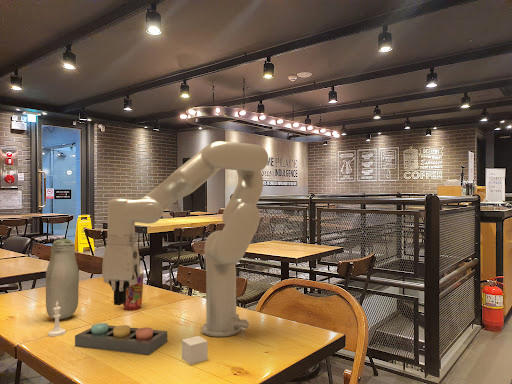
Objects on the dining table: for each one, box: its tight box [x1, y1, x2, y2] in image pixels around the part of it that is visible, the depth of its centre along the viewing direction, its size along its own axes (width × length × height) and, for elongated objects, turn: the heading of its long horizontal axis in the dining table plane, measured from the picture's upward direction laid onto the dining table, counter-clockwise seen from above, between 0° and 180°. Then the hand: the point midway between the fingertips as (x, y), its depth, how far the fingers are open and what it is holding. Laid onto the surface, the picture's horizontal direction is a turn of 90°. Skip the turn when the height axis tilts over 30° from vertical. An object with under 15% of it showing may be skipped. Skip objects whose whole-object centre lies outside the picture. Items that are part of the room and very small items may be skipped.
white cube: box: [181, 335, 209, 366], centre depth 99 cm, size 5×5×5 cm
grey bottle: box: [45, 238, 80, 321], centre depth 134 cm, size 10×10×28 cm
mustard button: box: [113, 324, 131, 338], centre depth 110 cm, size 5×5×3 cm
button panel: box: [74, 324, 168, 356], centre depth 110 cm, size 24×10×3 cm, turn 74°
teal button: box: [90, 322, 109, 336], centre depth 112 cm, size 5×5×3 cm
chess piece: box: [47, 301, 66, 337], centre depth 119 cm, size 5×5×10 cm
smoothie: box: [122, 266, 145, 311], centre depth 146 cm, size 8×8×20 cm
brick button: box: [136, 326, 154, 341], centre depth 108 cm, size 5×5×3 cm
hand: (119, 303), depth 110 cm, fingers closed
